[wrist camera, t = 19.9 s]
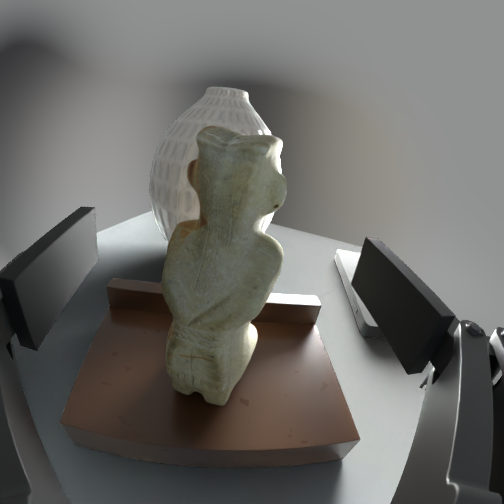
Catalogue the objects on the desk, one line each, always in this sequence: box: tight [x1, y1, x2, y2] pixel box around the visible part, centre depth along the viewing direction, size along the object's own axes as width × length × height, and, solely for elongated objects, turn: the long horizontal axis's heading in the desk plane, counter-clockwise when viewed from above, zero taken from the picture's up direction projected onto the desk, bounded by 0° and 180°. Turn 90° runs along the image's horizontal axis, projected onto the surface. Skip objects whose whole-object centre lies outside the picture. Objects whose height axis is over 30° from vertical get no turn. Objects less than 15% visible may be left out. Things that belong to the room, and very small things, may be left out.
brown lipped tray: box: [60, 278, 360, 468], centre depth 19 cm, size 18×14×5 cm
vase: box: [149, 87, 281, 244], centre depth 35 cm, size 16×16×22 cm
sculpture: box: [161, 126, 287, 406], centre depth 15 cm, size 6×7×15 cm
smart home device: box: [334, 249, 386, 339], centre depth 37 cm, size 8×2×20 cm
